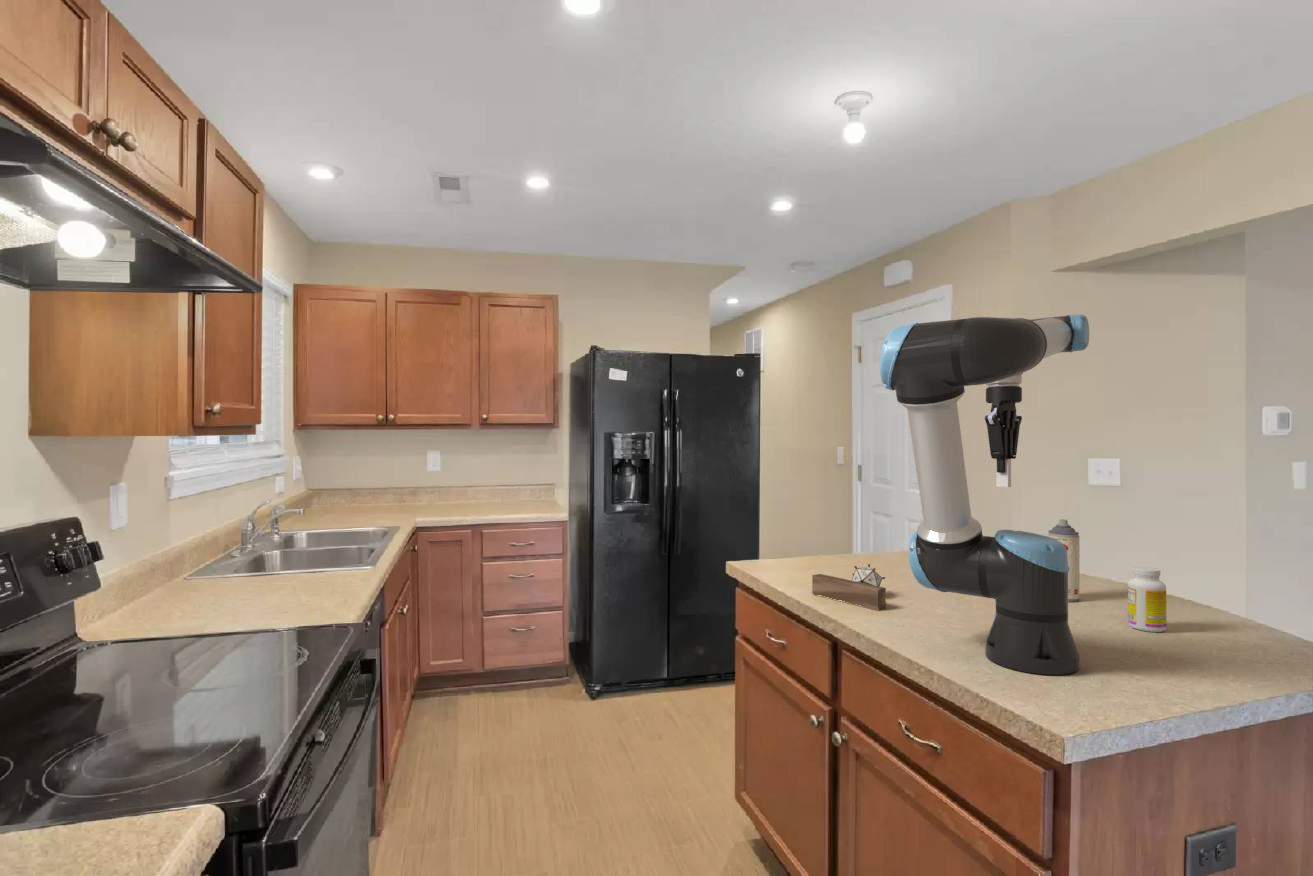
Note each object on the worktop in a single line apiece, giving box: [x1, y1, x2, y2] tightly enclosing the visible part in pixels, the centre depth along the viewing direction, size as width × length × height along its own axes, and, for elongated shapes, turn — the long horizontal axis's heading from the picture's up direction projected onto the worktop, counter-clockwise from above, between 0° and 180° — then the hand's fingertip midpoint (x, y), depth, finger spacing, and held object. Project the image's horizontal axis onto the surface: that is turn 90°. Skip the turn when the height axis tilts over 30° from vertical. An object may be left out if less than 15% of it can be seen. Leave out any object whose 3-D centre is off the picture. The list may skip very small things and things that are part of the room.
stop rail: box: [811, 573, 887, 611], centre depth 167 cm, size 3×20×5 cm, turn 36°
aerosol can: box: [1047, 518, 1080, 603], centre depth 168 cm, size 7×7×20 cm
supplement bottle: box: [1127, 566, 1168, 633], centre depth 143 cm, size 7×7×13 cm
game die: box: [851, 563, 886, 587], centre depth 172 cm, size 9×8×10 cm
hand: (1003, 486), depth 157 cm, fingers closed
